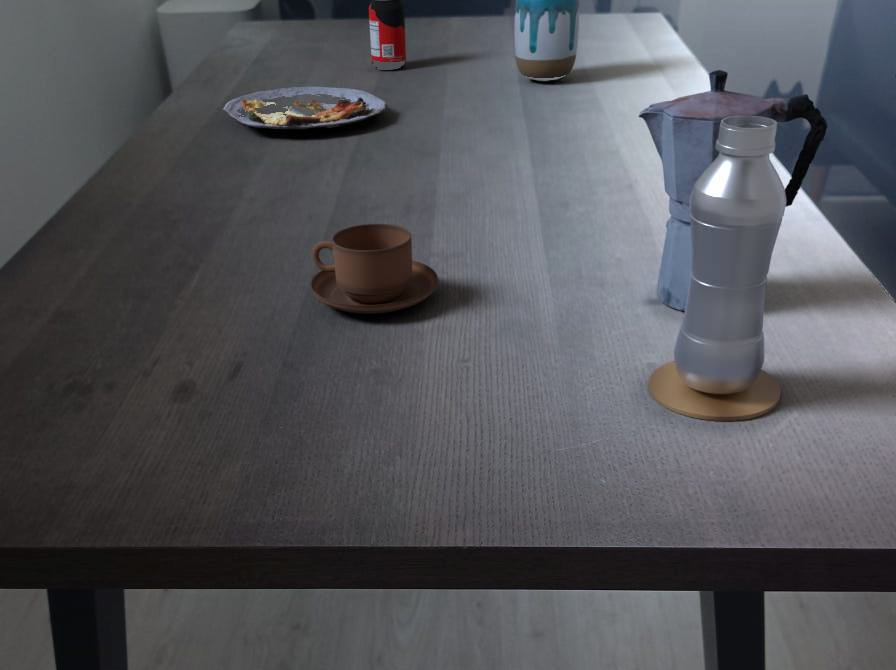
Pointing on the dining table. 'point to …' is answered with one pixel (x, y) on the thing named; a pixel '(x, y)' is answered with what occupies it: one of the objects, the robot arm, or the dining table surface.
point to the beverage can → (387, 30)
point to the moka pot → (710, 161)
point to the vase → (546, 37)
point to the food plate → (328, 118)
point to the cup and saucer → (372, 271)
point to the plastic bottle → (731, 259)
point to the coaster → (713, 397)
